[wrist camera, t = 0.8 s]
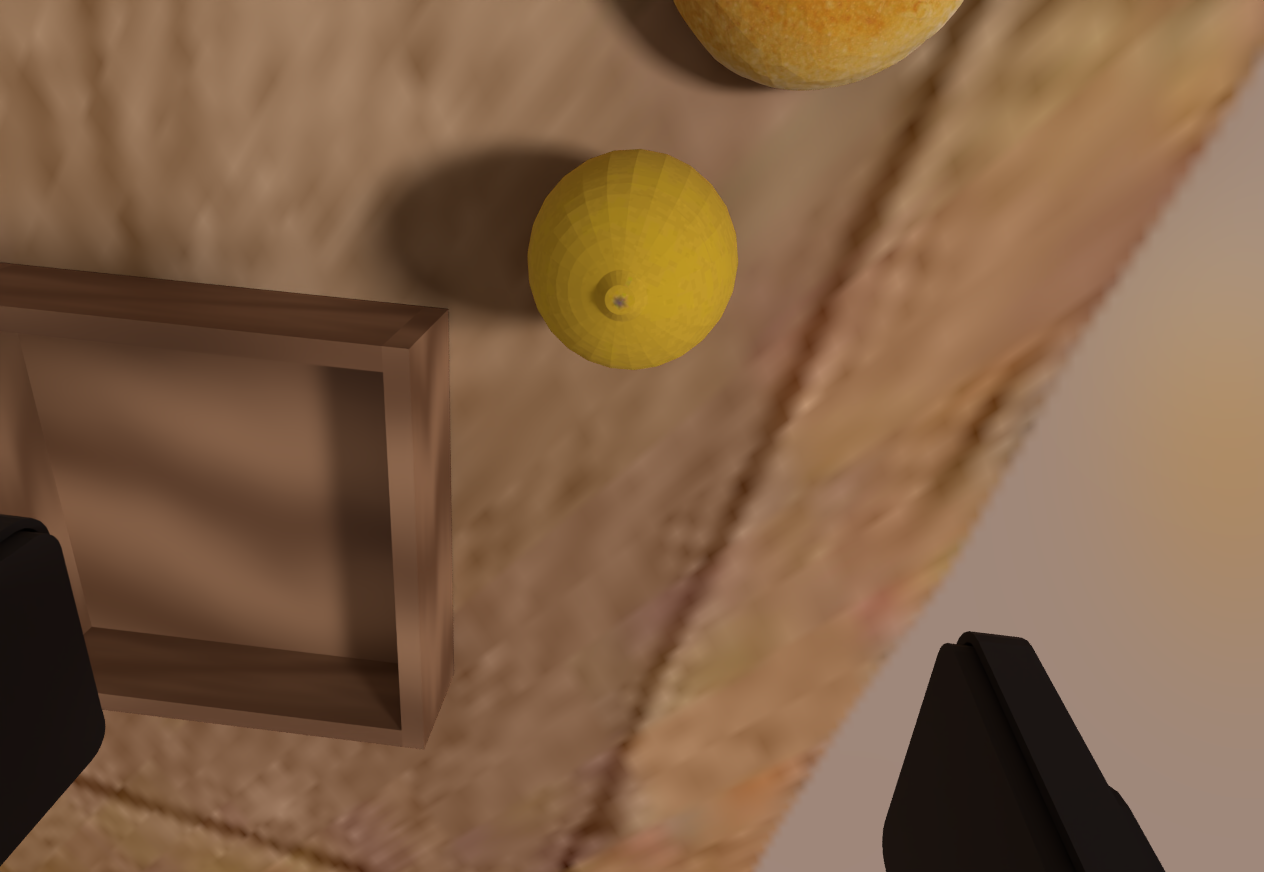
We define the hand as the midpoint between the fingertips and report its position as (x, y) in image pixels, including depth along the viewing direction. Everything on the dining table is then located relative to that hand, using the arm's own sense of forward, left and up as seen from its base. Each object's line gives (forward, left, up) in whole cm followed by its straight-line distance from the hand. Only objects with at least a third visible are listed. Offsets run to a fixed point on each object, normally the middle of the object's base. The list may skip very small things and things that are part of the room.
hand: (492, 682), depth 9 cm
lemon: (-1, 0, -19) cm, 19 cm away
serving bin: (+10, -14, -19) cm, 25 cm away
